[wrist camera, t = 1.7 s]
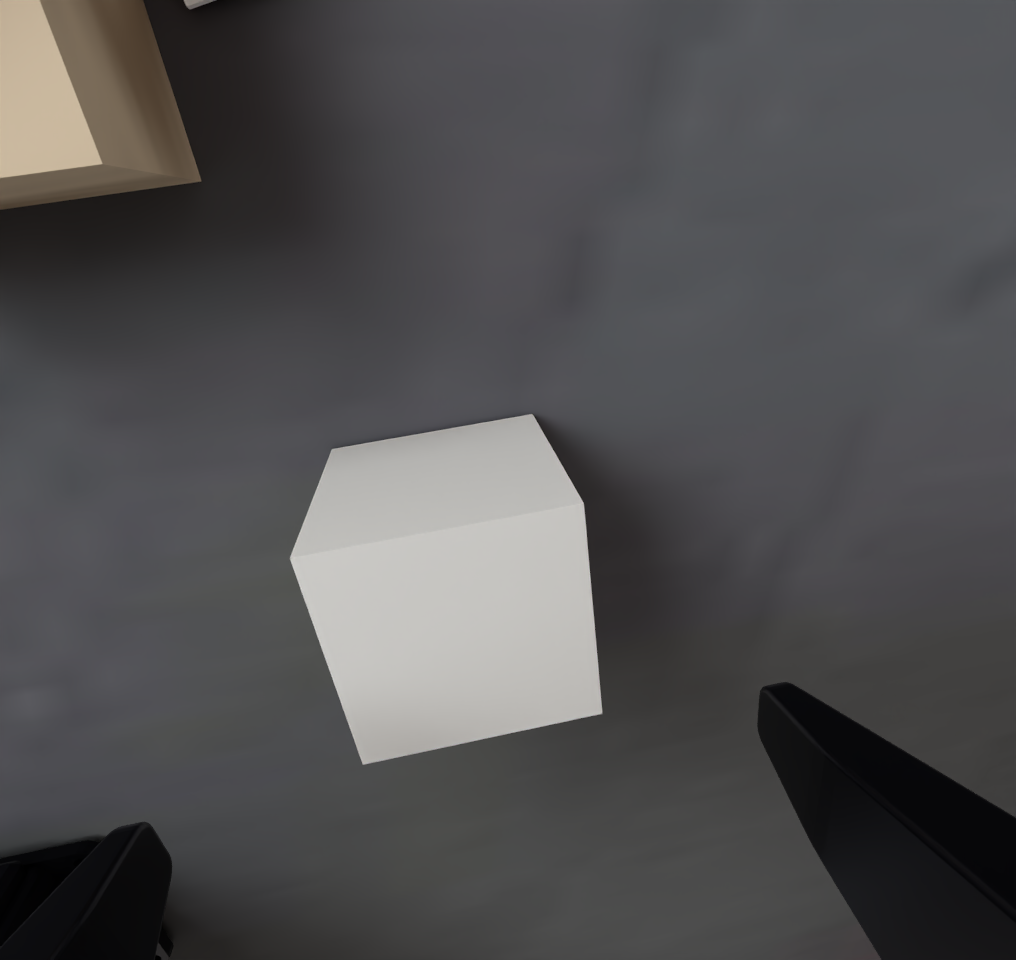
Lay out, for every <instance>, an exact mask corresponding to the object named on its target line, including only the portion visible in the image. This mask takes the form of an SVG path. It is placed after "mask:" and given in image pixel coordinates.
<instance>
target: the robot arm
mask: <svg viewBox="0 0 1016 960" xmlns="http://www.w3.org/2000/svg"><path fill="white" fill-rule="evenodd" d="M757 724H758V732H759V736H760V739H761V741H762V743H763V746H764V748H765V750H766V752H767V754H768V756H769V758H770V760H771V762H772V764H773V766H774V768H775V770H776V772H777V774H778V776H779V778H780V781H781V783H782V785H783V787H784V789H785V791H786V793H787V795H788V797H789V799H790V801H791V803H792V805H793V807H794V809H795V811H796V813H797V816H798V818H799V820H800V822H801V824H802V826H803V828H804V830H805V832H806V834H807V836H808V838H809V840H810V841H811V843H812V845H813V847H814V849H815V850H816V852H817V854H818V856H819V857H820V859H821V861H822V863H823V864H824V866H825V868H826V869H827V871H828V872H829V874H830V876H831V877H832V879H833V881H834V882H835V884H836V886H837V887H838V889H839V891H840V892H841V894H842V896H843V897H844V899H845V900H846V902H847V904H848V905H849V907H850V909H851V910H852V912H853V914H854V915H855V917H856V919H857V920H858V922H859V924H860V925H861V927H862V928H863V930H864V932H865V933H866V935H867V937H868V938H869V940H870V942H871V943H872V945H873V947H874V948H875V950H876V951H877V953H878V955H879V956H880V958H881V960H1016V818H1015V817H1014V816H1012V815H1010V814H1009V813H1007V812H1005V811H1004V810H1002V809H1000V808H999V807H997V806H995V805H994V804H992V803H990V802H989V801H987V800H985V799H984V798H982V797H980V796H979V795H977V794H975V793H974V792H972V791H970V790H969V789H967V788H965V787H964V786H962V785H960V784H959V783H957V782H955V781H954V780H952V779H950V778H949V777H947V776H945V775H944V774H942V773H940V772H939V771H937V770H935V769H934V768H932V767H930V766H929V765H927V764H925V763H924V762H922V761H920V760H919V759H917V758H915V757H914V756H912V755H910V754H909V753H907V752H905V751H904V750H902V749H900V748H899V747H897V746H895V745H894V744H892V743H890V742H889V741H887V740H885V739H884V738H882V737H880V736H879V735H877V734H875V733H874V732H872V731H870V730H869V729H867V728H865V727H864V726H862V725H860V724H859V723H857V722H855V721H854V720H852V719H850V718H849V717H847V716H845V715H844V714H842V713H840V712H839V711H837V710H835V709H834V708H832V707H830V706H829V705H827V704H825V703H824V702H822V701H820V700H819V699H817V698H815V697H813V696H812V695H810V694H808V693H807V692H805V691H803V690H802V689H800V688H798V687H797V686H795V685H793V684H791V683H788V682H782V683H777V684H773V685H768V686H765V687H763V688H762V689H761V691H760V695H759V709H758V723H757ZM171 875H172V861H171V857H170V855H169V853H168V851H167V850H166V848H165V846H164V845H163V843H162V841H161V840H160V838H159V837H158V835H157V833H156V832H155V830H154V829H153V827H152V826H151V825H150V824H149V823H146V822H140V823H135V824H130V825H126V826H121V827H118V828H116V829H114V830H113V831H111V832H110V833H109V834H108V835H107V836H106V837H105V838H104V839H103V840H102V841H101V842H100V843H98V842H96V841H81V842H76V843H72V844H67V845H62V846H58V847H53V848H49V849H44V850H39V851H35V852H30V853H26V854H21V855H16V856H12V857H7V858H2V859H0V960H169V957H170V954H171V952H172V949H173V943H172V942H171V940H170V939H169V937H168V936H167V934H166V933H165V932H164V930H163V929H162V927H161V926H162V921H163V916H164V911H165V906H166V901H167V896H168V891H169V886H170V881H171Z"/></svg>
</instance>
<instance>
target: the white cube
mask: <svg viewBox="0 0 1016 960" xmlns="http://www.w3.org/2000/svg"><path fill="white" fill-rule="evenodd" d="M290 560H291V563H292V566H293V568H294V571H295V574H296V577H297V580H298V583H299V585H300V588H301V591H302V594H303V597H304V600H305V602H306V605H307V608H308V611H309V614H310V616H311V619H312V622H313V625H314V628H315V631H316V633H317V636H318V639H319V642H320V645H321V648H322V650H323V653H324V656H325V659H326V662H327V665H328V667H329V670H330V673H331V676H332V679H333V681H334V684H335V687H336V690H337V693H338V696H339V698H340V701H341V704H342V707H343V710H344V713H345V715H346V718H347V721H348V724H349V727H350V730H351V732H352V735H353V738H354V741H355V744H356V746H357V749H358V752H359V755H360V758H361V761H362V763H363V765H364V764H368V763H373V762H378V761H382V760H387V759H392V758H397V757H401V756H406V755H411V754H415V753H420V752H425V751H429V750H434V749H439V748H443V747H448V746H453V745H458V744H462V743H467V742H472V741H476V740H481V739H486V738H490V737H495V736H500V735H504V734H509V733H514V732H519V731H523V730H528V729H533V728H537V727H542V726H547V725H551V724H556V723H561V722H565V721H570V720H575V719H580V718H584V717H589V716H594V715H598V714H602V703H601V692H600V681H599V669H598V658H597V647H596V635H595V624H594V613H593V601H592V590H591V579H590V567H589V556H588V545H587V533H586V522H585V511H584V503H583V501H582V499H581V497H580V496H579V494H578V492H577V490H576V489H575V487H574V485H573V484H572V482H571V480H570V478H569V477H568V475H567V473H566V471H565V470H564V468H563V466H562V464H561V463H560V461H559V459H558V457H557V456H556V454H555V452H554V450H553V449H552V447H551V445H550V443H549V442H548V440H547V438H546V437H545V435H544V433H543V431H542V430H541V428H540V426H539V424H538V423H537V421H536V419H535V417H534V416H533V414H530V415H524V416H518V417H513V418H507V419H501V420H495V421H490V422H484V423H478V424H473V425H467V426H461V427H455V428H450V429H444V430H438V431H433V432H427V433H421V434H415V435H410V436H404V437H398V438H393V439H387V440H381V441H375V442H370V443H364V444H358V445H353V446H347V447H341V448H336V449H332V450H331V453H330V456H329V458H328V461H327V463H326V466H325V469H324V471H323V474H322V476H321V479H320V482H319V484H318V487H317V489H316V492H315V495H314V497H313V500H312V502H311V505H310V507H309V510H308V513H307V515H306V518H305V520H304V523H303V526H302V528H301V531H300V533H299V536H298V539H297V541H296V544H295V546H294V549H293V551H292V554H291V557H290Z"/></svg>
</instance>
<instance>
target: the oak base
mask: <svg viewBox="0 0 1016 960" xmlns="http://www.w3.org/2000/svg"><path fill="white" fill-rule="evenodd" d="M194 182H201V178H200V175H199V172H198V169H197V165H196V162H195V159H194V156H193V153H192V150H191V147H190V144H189V141H188V138H187V134H186V131H185V128H184V125H183V122H182V119H181V116H180V113H179V110H178V107H177V104H176V100H175V97H174V94H173V91H172V88H171V85H170V82H169V79H168V76H167V73H166V70H165V66H164V63H163V60H162V57H161V54H160V51H159V48H158V45H157V42H156V39H155V36H154V32H153V29H152V26H151V23H150V20H149V17H148V14H147V11H146V8H145V5H144V2H143V0H0V210H2V209H9V208H17V207H24V206H31V205H38V204H45V203H52V202H59V201H66V200H73V199H81V198H88V197H95V196H102V195H109V194H116V193H123V192H130V191H137V190H145V189H152V188H159V187H166V186H173V185H180V184H187V183H194Z"/></svg>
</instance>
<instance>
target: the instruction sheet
mask: <svg viewBox="0 0 1016 960" xmlns="http://www.w3.org/2000/svg"><path fill="white" fill-rule="evenodd" d="M213 1H215V0H184V2H185V4H186V7H187V8H189V9H193V8H196V7H199V6H201V5H204V4H207V3H210V2H213Z"/></svg>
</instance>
